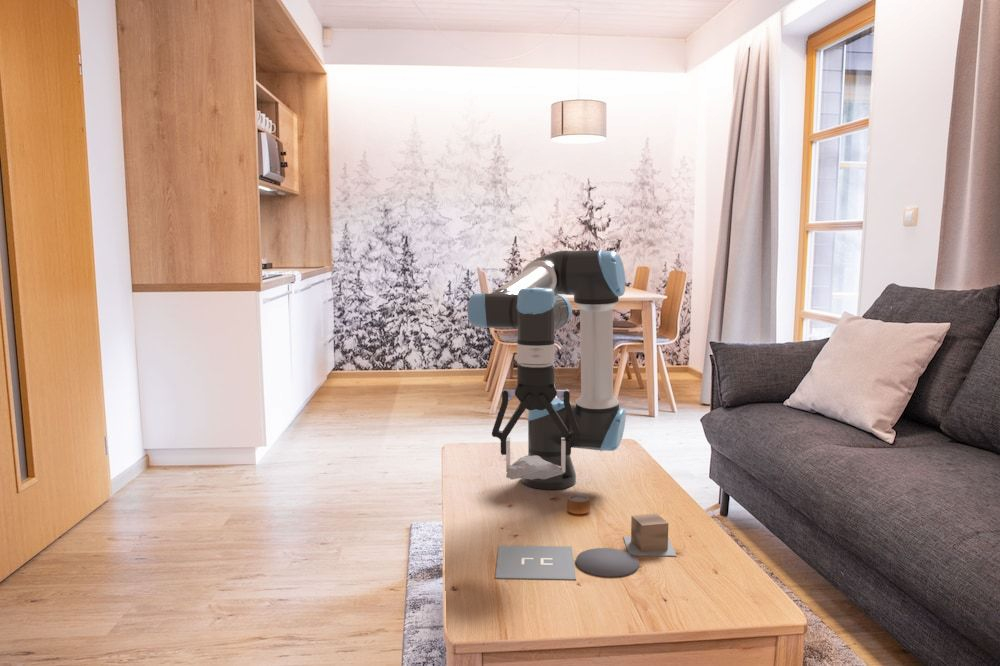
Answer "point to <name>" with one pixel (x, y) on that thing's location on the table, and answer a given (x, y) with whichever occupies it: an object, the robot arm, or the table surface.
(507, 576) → the tile
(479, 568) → the table surface
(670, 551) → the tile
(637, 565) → the coaster
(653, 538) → the walnut block
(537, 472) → the stone
